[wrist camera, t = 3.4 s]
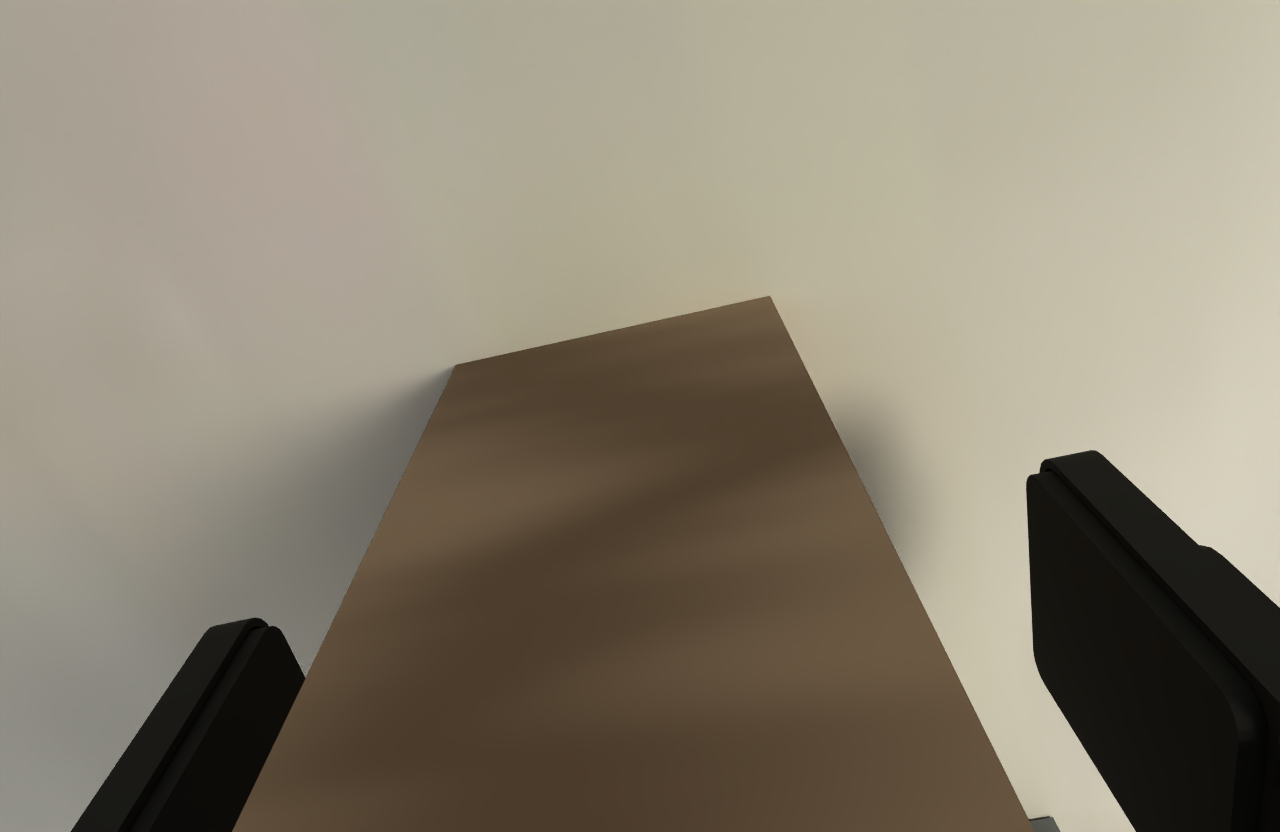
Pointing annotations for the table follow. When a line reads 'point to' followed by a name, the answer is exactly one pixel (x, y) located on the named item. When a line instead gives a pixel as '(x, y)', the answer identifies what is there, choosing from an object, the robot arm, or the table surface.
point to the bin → (1045, 825)
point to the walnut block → (633, 616)
